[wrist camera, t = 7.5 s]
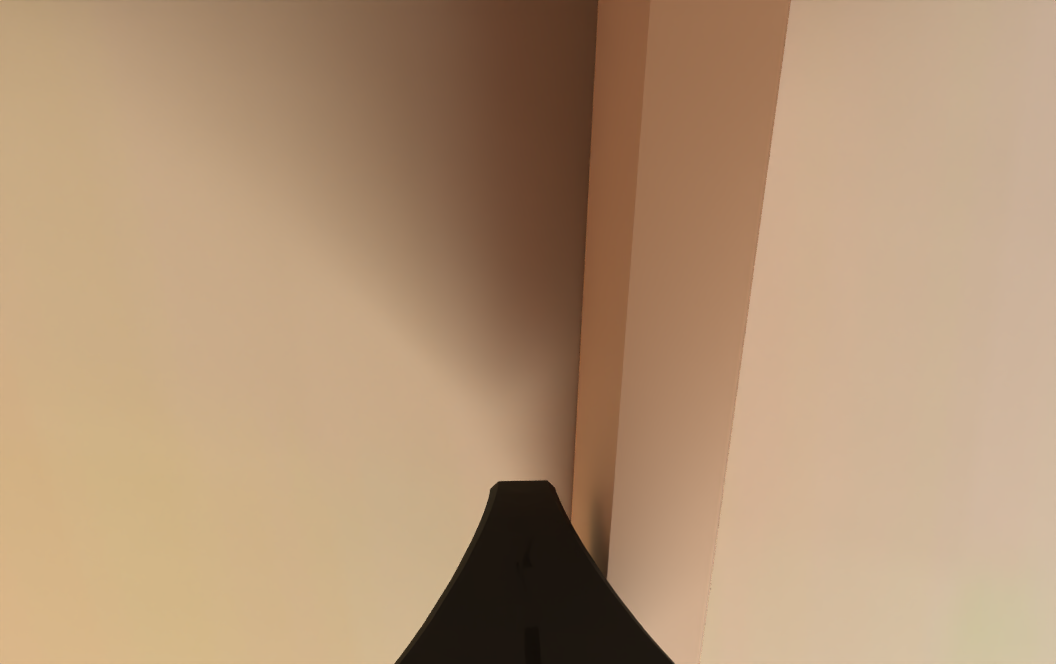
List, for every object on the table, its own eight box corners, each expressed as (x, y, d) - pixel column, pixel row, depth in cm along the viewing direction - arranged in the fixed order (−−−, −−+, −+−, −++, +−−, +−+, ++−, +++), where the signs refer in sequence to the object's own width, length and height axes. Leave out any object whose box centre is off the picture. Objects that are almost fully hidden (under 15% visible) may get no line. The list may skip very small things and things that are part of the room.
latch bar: (652, 596, 14) (714, 835, 10) (544, 595, 14) (560, 837, 10) (777, -607, 8) (1056, -1243, 4) (590, -617, 8) (680, -1272, 4)
